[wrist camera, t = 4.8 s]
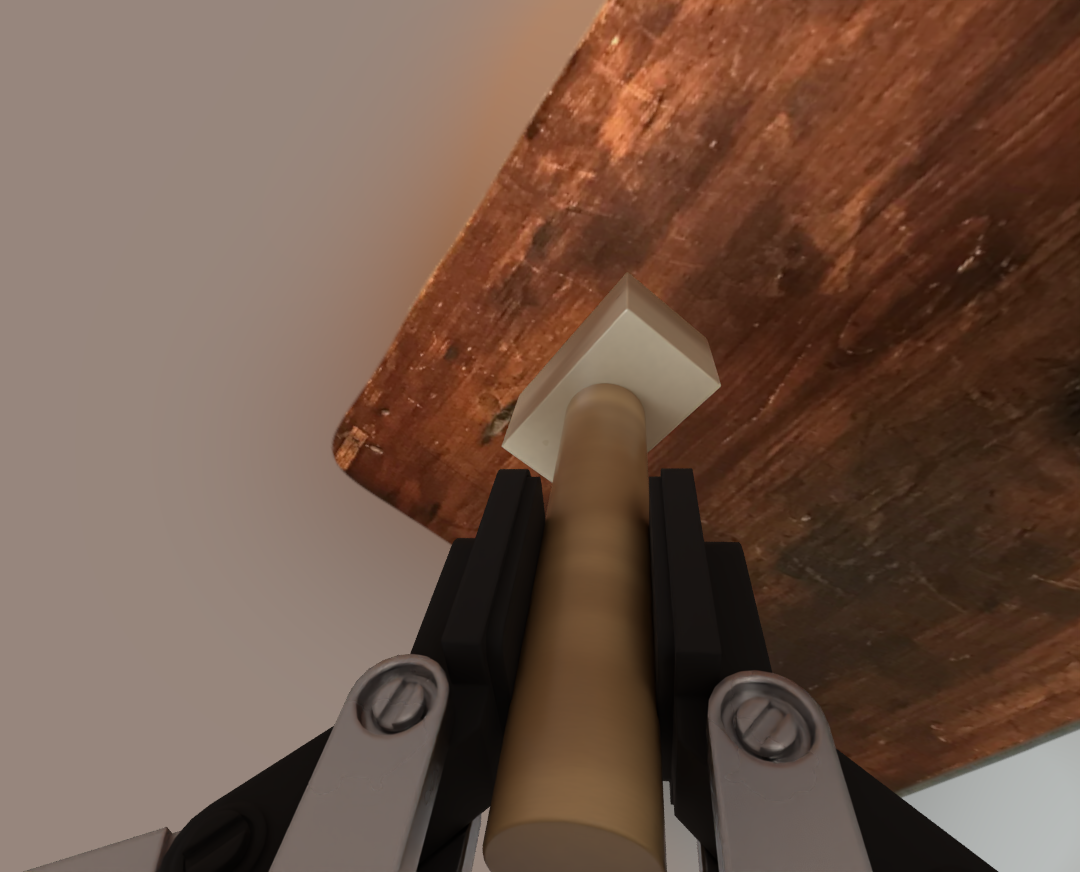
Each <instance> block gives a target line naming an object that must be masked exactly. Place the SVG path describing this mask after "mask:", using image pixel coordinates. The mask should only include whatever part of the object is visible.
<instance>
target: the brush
mask: <svg viewBox="0 0 1080 872" xmlns="http://www.w3.org/2000/svg"><path fill="white" fill-rule="evenodd" d="M720 386H721V384H720V380H719V377H718V374H717V370H716V367H715V364H714V360H713V357H712V354H711V350H710V347H709V344H708V340H707V338H705V337H704V336H703V335H702V334H701V333H699V332H698V331H697V330H696V329H695V328H694V327H692V326H691V325H690V324H689V323H688V322H686V321H685V320H684V319H683V318H682V317H681V316H679V315H678V314H677V313H676V312H675V311H673V310H672V309H671V308H670V307H669V306H668V305H666V304H665V303H664V302H663V301H662V300H660V299H659V298H658V297H657V296H656V295H655V294H653V293H652V292H651V291H650V290H649V289H647V288H646V287H645V286H644V285H643V284H642V283H640V282H639V281H638V280H637V279H636V278H634V277H633V276H632V275H631V274H630V273H628V272H627V273H626V274H625V275H624V276H623V277H622V278H621V280H620V281H619V282H618V283H617V284H616V285H615V286H614V288H613V289H612V290H611V291H610V292H609V293H608V295H607V296H606V297H605V298H604V299H603V300H602V301H601V303H600V304H599V305H598V306H597V307H596V308H595V309H594V311H593V312H592V313H591V314H590V315H589V316H588V317H587V319H586V320H585V321H584V322H583V323H582V324H581V325H580V327H579V328H578V329H577V330H576V331H575V332H574V333H573V335H572V336H571V337H570V338H569V339H568V340H567V341H566V343H565V344H564V345H563V346H562V347H561V348H560V349H559V351H558V352H557V353H556V354H555V355H554V356H553V358H552V359H551V360H550V361H549V362H548V363H547V364H546V366H545V367H544V368H543V369H542V370H541V371H540V372H539V374H538V375H537V376H536V377H535V378H534V379H533V380H532V382H531V383H530V384H529V385H528V386H527V387H526V388H525V390H524V391H523V392H522V393H521V394H520V395H519V398H518V401H517V404H516V407H515V410H514V412H513V415H512V418H511V421H510V424H509V427H508V430H507V432H506V435H505V438H504V441H503V444H502V447H503V448H504V449H506V450H507V451H508V452H510V453H511V454H513V455H514V456H516V457H517V458H518V459H520V460H521V461H523V462H524V463H525V464H527V465H528V466H530V467H531V468H532V469H534V470H535V471H537V472H538V473H539V474H541V475H542V476H544V477H545V478H547V479H548V480H549V481H551V482H552V487H551V492H550V497H549V503H548V508H547V513H546V518H545V526H544V532H543V537H542V542H541V547H540V553H539V558H538V563H537V568H536V574H535V579H534V584H533V589H532V594H531V600H530V605H529V610H528V615H527V621H526V626H525V631H524V636H523V642H522V647H521V652H520V657H519V663H518V668H517V673H516V678H515V684H514V689H513V694H512V699H511V703H510V707H509V711H508V716H507V722H506V727H505V732H504V737H503V743H502V748H501V753H500V758H499V763H498V769H497V774H496V779H495V784H494V789H493V795H492V800H491V805H490V810H489V816H488V821H487V826H486V831H485V836H484V842H483V856H484V861H485V863H486V865H487V866H488V868H489V870H490V871H491V872H667V865H666V864H667V863H666V844H665V843H666V842H665V821H664V800H663V779H662V758H661V736H660V722H659V718H658V715H657V701H656V678H655V654H654V630H653V607H652V583H651V559H650V535H649V482H648V461H647V453H648V452H649V451H650V450H651V449H652V448H653V447H654V446H656V445H657V444H658V443H659V442H660V441H661V440H662V439H663V438H664V437H665V436H667V435H668V434H669V433H670V432H671V431H672V430H673V429H674V428H675V427H676V426H678V425H679V424H680V423H681V422H682V421H683V420H684V419H685V418H686V417H688V416H689V415H690V414H691V413H692V412H693V411H694V410H695V409H696V408H697V407H699V406H700V405H701V404H702V403H703V402H704V401H705V400H706V399H707V398H709V397H710V396H711V395H712V394H713V393H714V392H715V391H716V390H717V389H718V388H720Z"/></svg>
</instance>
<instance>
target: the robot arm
mask: <svg viewBox="0 0 1080 872" xmlns="http://www.w3.org/2000/svg"><path fill="white" fill-rule="evenodd" d="M544 526H545V512H544V503H543V494H542V485H541V479H540V477H531V475H530V471H529V470H528V469H500V470H499V471H498V473H497V475H496V478H495V481H494V484H493V487H492V490H491V493H490V496H489V499H488V502H487V505H486V508H485V511H484V514H483V517H482V520H481V523H480V526H479V529H478V532H477V535H476V538H457V539H456V540H455V541H454V542H453V544H452V546H451V549H450V551H449V554H448V556H447V559H446V562H445V565H444V567H443V570H442V572H441V575H440V577H439V580H438V583H437V585H436V588H435V590H434V593H433V596H432V598H431V601H430V604H429V606H428V609H427V611H426V614H425V617H424V619H423V622H422V624H421V627H420V630H419V632H418V635H417V638H416V640H415V643H414V646H413V648H412V651H411V654H406V655H397V656H394V657H391V658H388V659H385V660H383V661H381V662H379V663H378V664H376V665H375V666H373V667H371V668H370V669H368V670H367V671H366V672H365V673H364V674H363V675H362V676H361V677H360V678H359V679H358V680H357V681H356V683H355V685H354V686H353V688H352V689H351V691H350V693H349V694H348V696H347V699H346V701H345V703H344V705H343V708H342V710H341V712H340V714H339V717H338V719H337V721H336V723H335V725H334V726H333V727H331V728H330V729H328V730H327V731H325V732H324V733H322V734H320V735H319V736H317V737H316V738H314V739H312V740H311V741H309V742H308V743H306V744H305V745H303V746H301V747H300V748H298V749H297V750H295V751H294V752H292V753H290V754H289V755H287V756H286V757H284V758H283V759H281V760H279V761H278V762H276V763H275V764H273V765H272V766H270V767H268V768H267V769H265V770H264V771H262V772H261V773H259V774H258V775H256V776H254V777H253V778H251V779H250V780H248V781H247V782H245V783H244V784H242V785H240V786H239V787H237V788H236V789H234V790H232V791H231V792H229V793H228V794H226V795H225V796H223V797H221V798H220V799H218V800H217V801H215V802H214V803H212V804H210V805H209V806H208V807H206V808H205V809H204V810H203V811H201V812H200V813H199V814H198V815H196V816H195V817H194V818H192V819H191V820H190V822H189V823H188V824H187V825H186V826H185V827H184V828H183V829H182V830H181V831H179V832H175V833H171V831H170V830H169V829H168V828H167V827H165V828H162V829H159V830H156V831H153V832H149V833H146V834H143V835H140V836H136V837H133V838H130V839H127V840H124V841H121V842H117V843H114V844H111V845H107V846H104V847H101V848H98V849H95V850H91V851H88V852H85V853H82V854H78V855H75V856H72V857H69V858H66V859H63V860H59V861H56V862H53V863H50V864H46V865H43V866H40V867H37V868H34V869H30V870H27V871H24V872H472V867H473V861H474V856H475V852H476V846H477V841H478V836H479V830H480V826H481V813H482V812H484V811H485V810H486V809H487V808H489V807H490V805H491V800H492V795H493V789H494V784H495V779H496V774H497V769H498V763H499V758H500V753H501V748H502V743H503V737H504V732H505V727H506V722H507V716H508V711H509V707H510V703H511V699H512V694H513V689H514V684H515V678H516V673H517V668H518V663H519V657H520V652H521V647H522V642H523V636H524V631H525V626H526V621H527V615H528V610H529V605H530V600H531V594H532V589H533V584H534V579H535V574H536V568H537V563H538V558H539V553H540V547H541V542H542V537H543V532H544ZM649 535H650V559H651V583H652V607H653V630H654V654H655V678H656V701H657V715H658V718H659V722H660V736H661V758H662V779H663V781H669V782H670V799H671V804H673V805H674V813H675V816H676V817H677V818H678V820H679V821H680V822H681V823H682V824H683V825H684V826H685V827H686V828H687V829H688V830H689V831H690V832H691V833H692V834H693V835H694V836H695V837H696V839H697V849H698V861H699V872H998V871H997V870H995V869H994V868H993V867H991V866H990V865H989V864H987V863H986V862H985V861H984V860H982V859H981V858H980V857H978V856H977V855H976V854H974V853H973V852H972V851H970V850H969V849H968V848H966V847H965V846H964V845H962V844H961V843H960V842H958V841H957V840H956V839H954V838H953V837H952V836H951V835H949V834H948V833H947V832H945V831H944V830H943V829H941V828H940V827H939V826H937V825H936V824H935V823H933V822H932V821H931V820H929V819H928V818H927V817H926V816H924V815H923V814H922V813H920V812H919V811H917V810H916V809H915V808H913V807H912V806H911V805H910V804H908V803H907V802H906V801H904V800H903V799H902V798H901V797H899V796H898V795H897V794H895V793H894V792H893V791H891V790H890V789H889V788H887V787H886V786H885V785H883V784H882V783H881V782H879V781H878V780H877V779H875V778H874V777H873V776H872V775H870V774H869V773H868V772H866V771H865V770H864V769H862V768H861V767H860V766H858V765H857V764H856V763H854V762H853V761H852V760H850V759H849V758H848V757H846V756H845V755H844V754H843V753H841V752H840V751H839V750H837V749H836V748H835V745H834V741H833V738H832V735H831V731H830V728H829V725H828V722H827V720H826V718H825V716H824V713H823V711H822V709H821V707H820V706H819V705H818V703H817V702H816V701H815V700H814V699H813V698H812V697H811V695H810V694H809V693H808V692H807V691H805V690H804V689H803V688H801V687H800V686H799V685H797V684H796V683H794V682H793V681H791V680H789V679H787V678H784V677H782V676H780V675H777V674H775V673H772V670H771V665H770V661H769V657H768V653H767V649H766V645H765V640H764V636H763V632H762V628H761V624H760V620H759V615H758V611H757V607H756V603H755V599H754V594H753V590H752V586H751V582H750V578H749V574H748V569H747V565H746V561H745V557H744V553H743V549H742V546H741V544H740V543H739V542H704V539H703V532H702V526H701V520H700V514H699V507H698V501H697V495H696V488H695V482H694V476H693V470H692V469H661V477H649Z"/></svg>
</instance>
